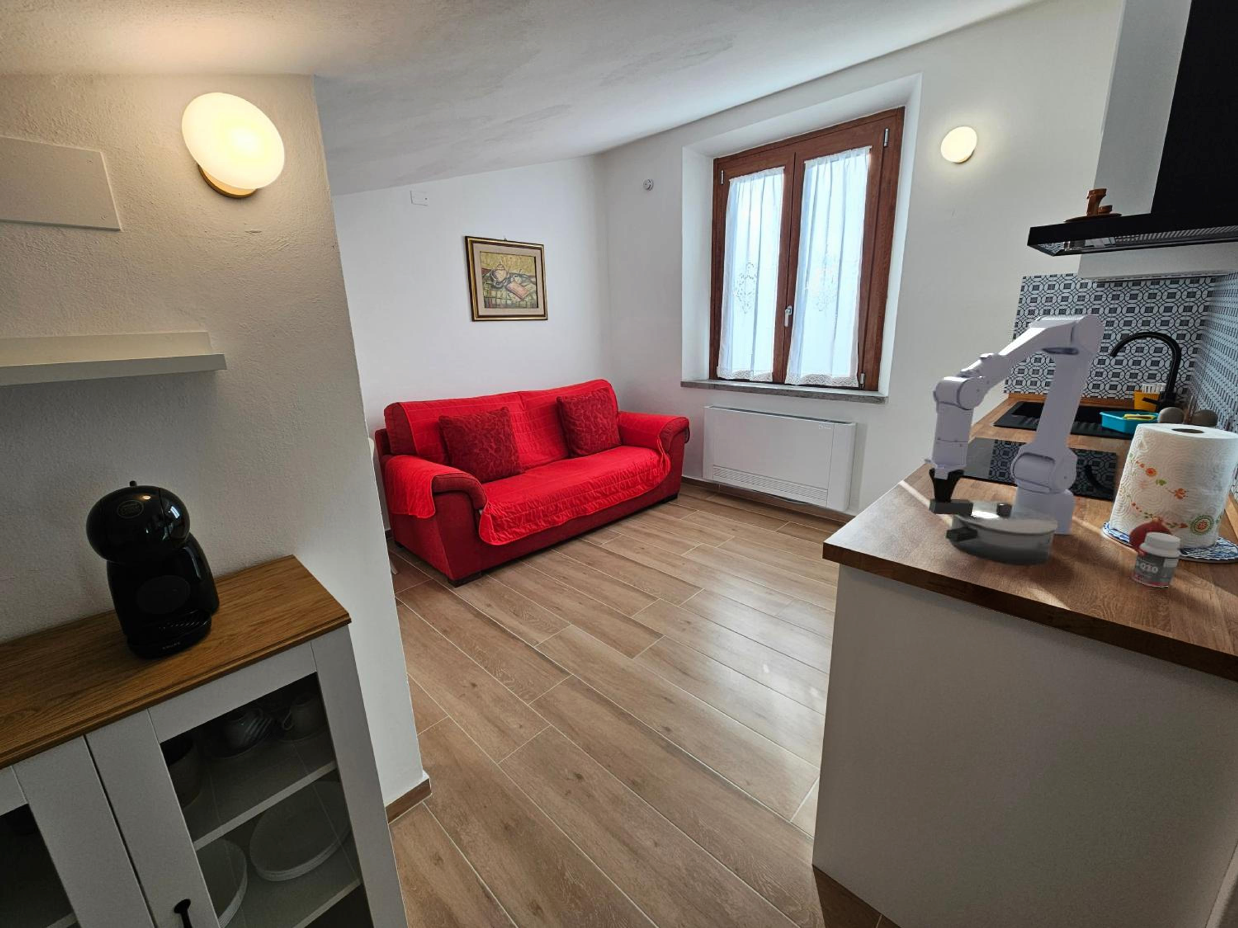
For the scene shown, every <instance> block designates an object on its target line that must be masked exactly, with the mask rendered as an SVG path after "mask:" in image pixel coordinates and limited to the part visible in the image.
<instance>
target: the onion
mask: <svg viewBox="0 0 1238 928" xmlns="http://www.w3.org/2000/svg"><path fill="white" fill-rule="evenodd" d="M1150 532H1156V533H1164V534H1169V535H1172V536H1174V535H1173V533H1172V531H1171V530H1170V529H1168V527H1166V526H1165V525H1163V524H1162V523H1161V521H1160V519H1159V518H1157V517H1154V518H1152V519H1151V521H1150V522H1149V521H1148V522H1146V523H1143V524H1139V525H1138V526H1136V527H1135V528H1134V529H1132V530H1131V531H1130V533H1129V535H1128V542H1129V544H1130V546H1131V549H1133V551H1134V552H1136V553H1137V554H1138V551H1139V547H1140V545H1141V544H1142V543H1145V538H1146V535H1147V533H1150Z"/></svg>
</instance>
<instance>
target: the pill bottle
mask: <svg viewBox="0 0 1238 928" xmlns="http://www.w3.org/2000/svg"><path fill="white" fill-rule="evenodd" d="M1172 535H1173V534H1172ZM1172 535H1169V534H1164V533H1156V532H1150V533H1147V535H1146V538H1145V543H1142V544H1141V545H1140V547H1139V551H1138V553H1137V554H1136V560H1135V563H1134V566H1133V570H1132V573H1131V579H1133V580H1134V581H1135V582H1137V583H1138V582H1139V584H1141V583H1142V585H1143V584H1145V585H1144V586H1146V585H1148V586H1147V587H1150V586H1155V587H1166V586H1170V585H1172V582H1173V580H1174V576H1175V572H1176V569H1177V565H1178V562H1179V559H1180V556H1181V552H1180V550H1179V548H1180V545H1181V541H1182V540H1181V538H1179V537H1177V536H1175V535H1173V536H1172ZM1155 587H1154V588H1155ZM1170 587H1171V586H1170Z"/></svg>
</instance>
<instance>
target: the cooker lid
mask: <svg viewBox="0 0 1238 928" xmlns="http://www.w3.org/2000/svg"><path fill="white" fill-rule="evenodd" d="M928 511H929V512H931V513H932V514H933V515H952V516H953V515H955V516H956V517H957V518H959V519H961V520H962V521H965V522H967V523H969V524H972V525H975V526H978V527H982V528H985V529H989V530H994V531H999V532H1005V533H1012V534H1022V535H1041V534H1048V533H1052V532H1054V531H1056V529H1057V526H1058V522H1057V520H1056V519H1055V518H1053V517H1052V516H1050V515H1048V514H1046V513H1044V512H1041V511H1038V510H1036V509H1032V508H1029V507H1025V506H1021V505H1016V504H1014V503H1011V502H1004V501H995V500H985V499H983V500H982V499H979V500H978V499H974V500H973V499H972V500H971V499H970V500H969V499H966V498H951V499H935V498H930V500H929V505H928Z"/></svg>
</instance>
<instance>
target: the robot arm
mask: <svg viewBox="0 0 1238 928" xmlns="http://www.w3.org/2000/svg"><path fill="white" fill-rule="evenodd" d="M1105 330H1106V328H1105V326H1104V324H1103V322H1102V321H1101V319H1100V318H1099V317H1098V316H1097V315H1096V314H1091V313H1090V314H1084V315H1083V314H1081V315H1079V314H1078V315H1075V314H1074V315H1048V314H1046V315H1045V314H1043V315H1040V316H1038V317H1037V318H1036V319H1035V320H1033V321H1031V322H1030V323H1028V325H1027V327H1026V331H1024V333H1022V334H1020V336H1018V337H1017V338H1016V339H1015V340H1013V341H1012V342H1010V343H1009V344H1008V345H1007V346H1006V347H1005V348H1003V349H1002V350H1001V351H999V352H997V353H995V352H990V353H983V354H982V355H980V356H979V359H978V360H976V361H975V362H973V363H972V364H970V365H969V366H967V367H966V368H962V369H961V370H959V372H958V373H957V374H956V375H951V376H950V375H948V376H945V377H944V378H942V379H941V380H940V381H939V382H938V383H937V384H936V386H935V388H934V390H932V398H933V401H934V402H935V412H936V414H937V418H936V423H935V425H936V426H935V432H934V439H933V446H932V454H931V456H925V457H924V463H929V464H930V465H931V466H932V468H930V469H929V470H928V476H929V478H930V480H931V483H932V485H933V494H934V495H933V496H934V498H933V499H952V496H953V495H954V494H953V493H954V491H955V488H956V486H957V484H958V482H959V481H960V480H961V478H963V476H964V474H965V470H963V469H964V468H966V466H967V461H966V460H967V453H968V449H969V441H970V435H971V430H972V429H971V428H972V423H973V416H974V412H975V408H976V407H979V406H980V405H981V403H982V402H983V401H984V398H985V396H986V395H987V394H988V393H989V391H990V390H991V389H993V388H994V387H995V386H997V385H999V383H1001V382H1002V381H1005V380H1006V379H1007V378H1008V377H1009V376H1011V374H1012V367H1014V366H1016V365H1018V364H1019V363H1021V362H1023V361H1024V360H1027V359H1028V358H1030V357H1031V356H1033V355H1035V354H1036V353H1038V352H1041V353H1043V354H1044V355H1045V356H1046V357H1048V358H1051V361H1053V363H1054V364H1055V368H1054V372H1053V375H1052V378H1051V380H1050V381H1051V382H1050V385H1049V387H1048V388H1049V389H1048V392H1047V395H1046V398H1045V401H1044V405H1043V407H1042V411H1041V415H1040V419H1039V422H1038V425H1037V427H1036V431H1035V435H1034V438H1033V440H1031V441H1029V442H1027V443H1025V444H1023V445H1021V446H1020V447H1019V448H1018V449H1019V450H1018V453H1017V454H1016V456H1015V457H1014V458H1013V460H1012V461H1011V463H1010V464H1011V465H1010V467H1009V468H1010V471H1009V472H1010V475H1011V478H1013V479H1014V484H1015V485H1017V487H1016V492H1015V498H1014V503H1013V504H1016V505H1021V506H1025V507H1029V508H1032V509H1036V510H1038V511H1041V512H1044V513H1046V514H1048V515H1050V516H1052V517H1053V518H1055V519H1056V520H1057V522H1058V526H1057V529H1056V531H1054V535H1069V536H1070V535H1072V532H1071V531H1070V529H1071V524H1072V520H1073V516H1074V511H1075V507H1076V506H1075V504H1076V502H1075V496H1074V493H1073V492H1072V491H1071V490H1069V488H1071V487H1072V485H1073V484H1074V483H1075V481H1076V478H1077V462H1078V458H1079V457H1078V456H1077V454H1075V453H1074V451H1073V450H1071V448H1069V446H1068V445H1067V444H1068V440H1069V436H1070V434H1071V432H1072V427H1073V424H1074V422H1075V418H1076V415H1077V413H1078V408H1079V405H1080V402H1081V399H1082V395H1083V393H1084V390H1085V387H1086V383H1087V381H1088V377H1089V374H1090V371H1091V368H1092V365H1093V361H1094V360H1095V359H1097V355H1098V353H1099V349H1100V346H1101V343H1102V340H1103V336H1104V333H1105Z"/></svg>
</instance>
